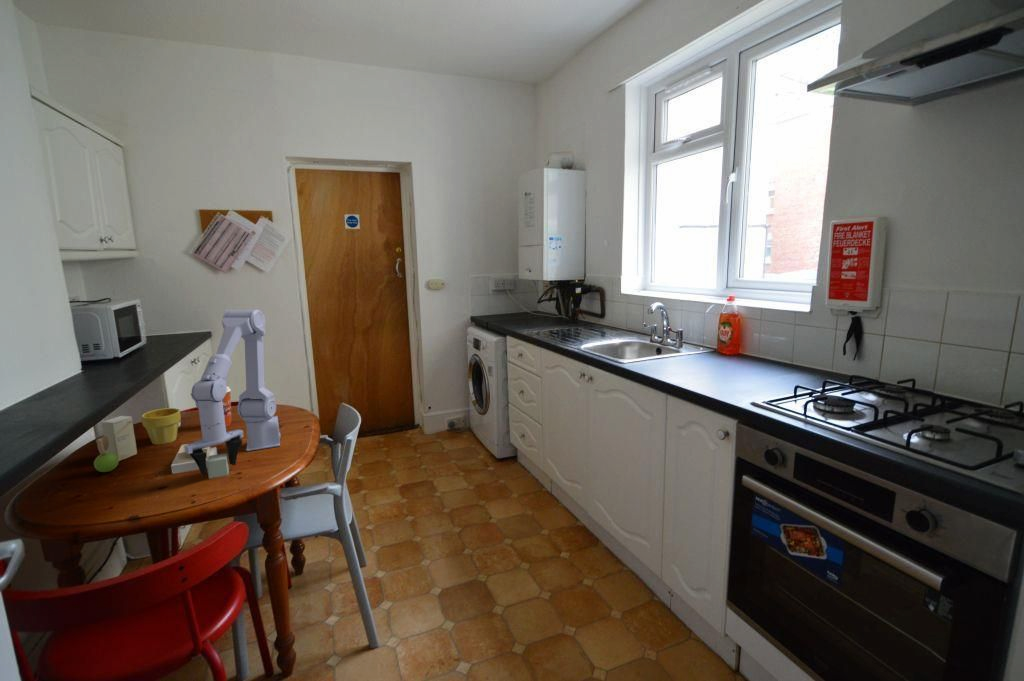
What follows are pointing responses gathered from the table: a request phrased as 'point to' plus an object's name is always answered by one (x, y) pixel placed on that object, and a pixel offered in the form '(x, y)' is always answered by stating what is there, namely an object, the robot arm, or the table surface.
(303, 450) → the table surface
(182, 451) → the beech top block
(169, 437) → the plant pot
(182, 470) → the grey base block
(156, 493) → the table surface
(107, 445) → the snail figurine
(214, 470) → the sage block
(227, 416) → the paper cup
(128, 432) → the skincare box
